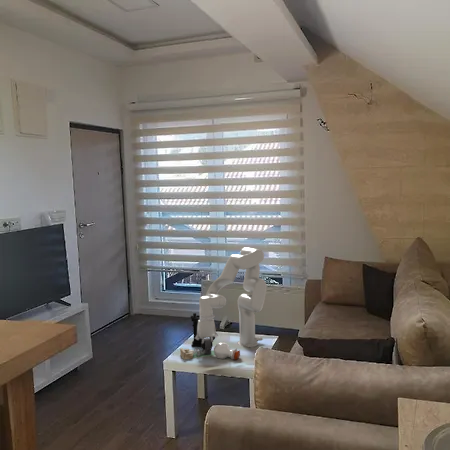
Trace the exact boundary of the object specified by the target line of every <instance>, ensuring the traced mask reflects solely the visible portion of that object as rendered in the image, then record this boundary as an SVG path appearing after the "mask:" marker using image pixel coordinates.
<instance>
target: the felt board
mask: <svg viewBox="0 0 450 450" xmlns="http://www.w3.org/2000/svg"><path fill="white" fill-rule="evenodd" d="M179 356H180V357H181V358H182V356H181V355H179ZM211 356H215V354H214V349H211V354H207V355H205V354H201V355H200V356H197V355H196V354H195V352H194V355H193V358H192V359H198V358H199V359H200V358H203V357H204V358H205V357H206V358H207V357H211ZM185 360H187V359H185ZM185 360H184V361H185Z"/></svg>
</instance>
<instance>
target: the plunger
mask: <svg viewBox="0 0 450 450" xmlns="http://www.w3.org/2000/svg"><path fill="white" fill-rule="evenodd" d="M204 343H205V350H203V349H202V350H200V349H199V347H195V348H194V353H195V354H196V355H197V356H200V355H201V354H205V355H207V354H211V351H212V349H211V340H210V339H209V337H208V338H204Z"/></svg>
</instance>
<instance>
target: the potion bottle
mask: <svg viewBox="0 0 450 450" xmlns="http://www.w3.org/2000/svg"><path fill="white" fill-rule="evenodd" d="M213 350H214V354H215V355H214V356H215V358H217V359H221V360H222V359H223V360H224V359H227V358H230V359H231V360H235V361H237V360H239V359H240V357H241V350H238V348H234V349H233V348H232V349H231V348H230V345H229V344H228V343H226V342H224V341H223V342H218V343H217V344H215V345H214V347H213Z"/></svg>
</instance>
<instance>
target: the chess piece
mask: <svg viewBox="0 0 450 450" xmlns="http://www.w3.org/2000/svg"><path fill="white" fill-rule="evenodd" d="M190 319H191V322H192V327H193V328H192V329H193V331H192V332H193V340H192V342H191V344H190V345H191V347H193V348H201V342H200V341H199V340H197V339H195V337H196V335H197V326H198V320H200V314H198V315H197V312H195V313H193V314H192V315H190ZM198 338H199V337H198ZM200 339H201V338H200Z"/></svg>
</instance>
